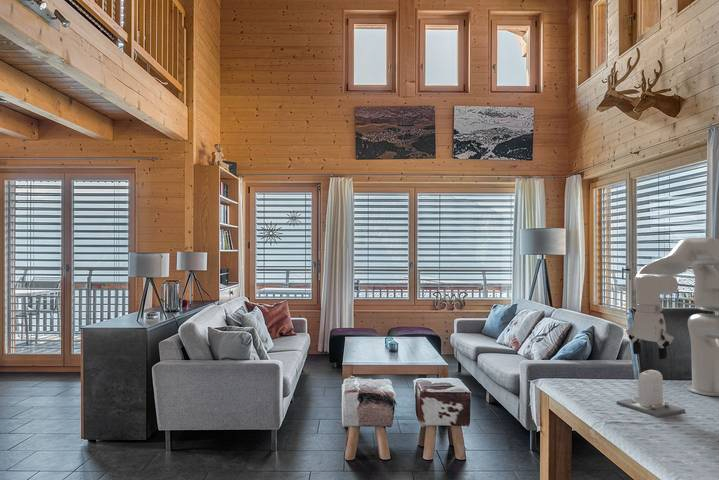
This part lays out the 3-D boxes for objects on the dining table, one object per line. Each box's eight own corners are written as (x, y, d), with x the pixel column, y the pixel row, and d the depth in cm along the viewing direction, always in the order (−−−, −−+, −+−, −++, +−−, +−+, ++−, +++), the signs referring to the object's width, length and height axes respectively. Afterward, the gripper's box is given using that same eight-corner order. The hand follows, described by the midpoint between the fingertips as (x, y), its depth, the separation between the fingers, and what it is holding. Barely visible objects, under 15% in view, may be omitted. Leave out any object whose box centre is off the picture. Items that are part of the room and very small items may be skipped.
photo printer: (652, 401, 175) (652, 367, 176) (665, 404, 172) (664, 369, 172) (636, 405, 170) (636, 370, 171) (648, 408, 166) (648, 373, 167)
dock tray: (642, 399, 181) (642, 392, 181) (685, 412, 166) (685, 404, 167) (616, 403, 176) (616, 397, 176) (658, 417, 161) (658, 409, 161)
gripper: (678, 311, 166) (680, 360, 166) (633, 306, 182) (634, 351, 181) (664, 312, 163) (666, 362, 163) (619, 307, 179) (620, 352, 179)
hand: (649, 356), depth 172 cm, fingers open, 9 cm apart
